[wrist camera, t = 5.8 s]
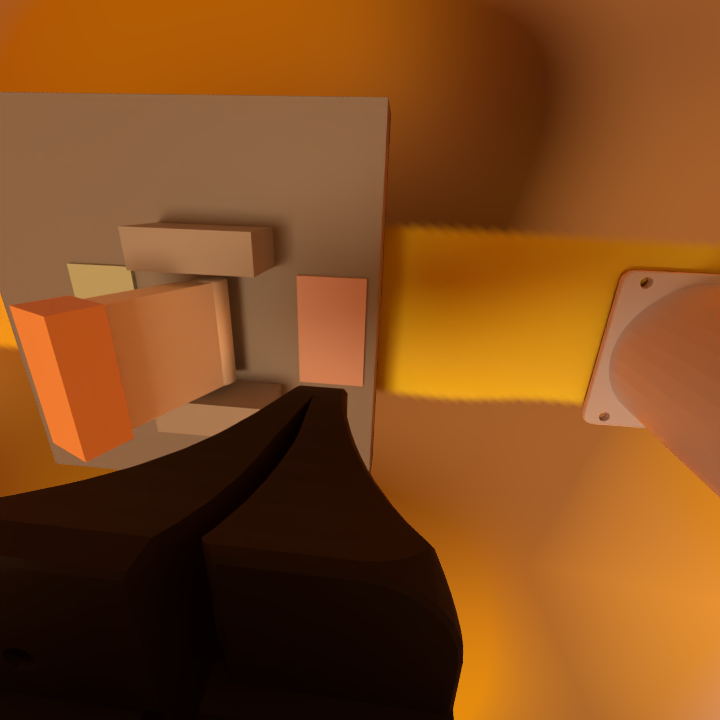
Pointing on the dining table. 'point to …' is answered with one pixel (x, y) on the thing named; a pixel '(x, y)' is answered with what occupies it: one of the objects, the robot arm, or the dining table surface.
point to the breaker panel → (202, 183)
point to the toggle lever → (125, 358)
